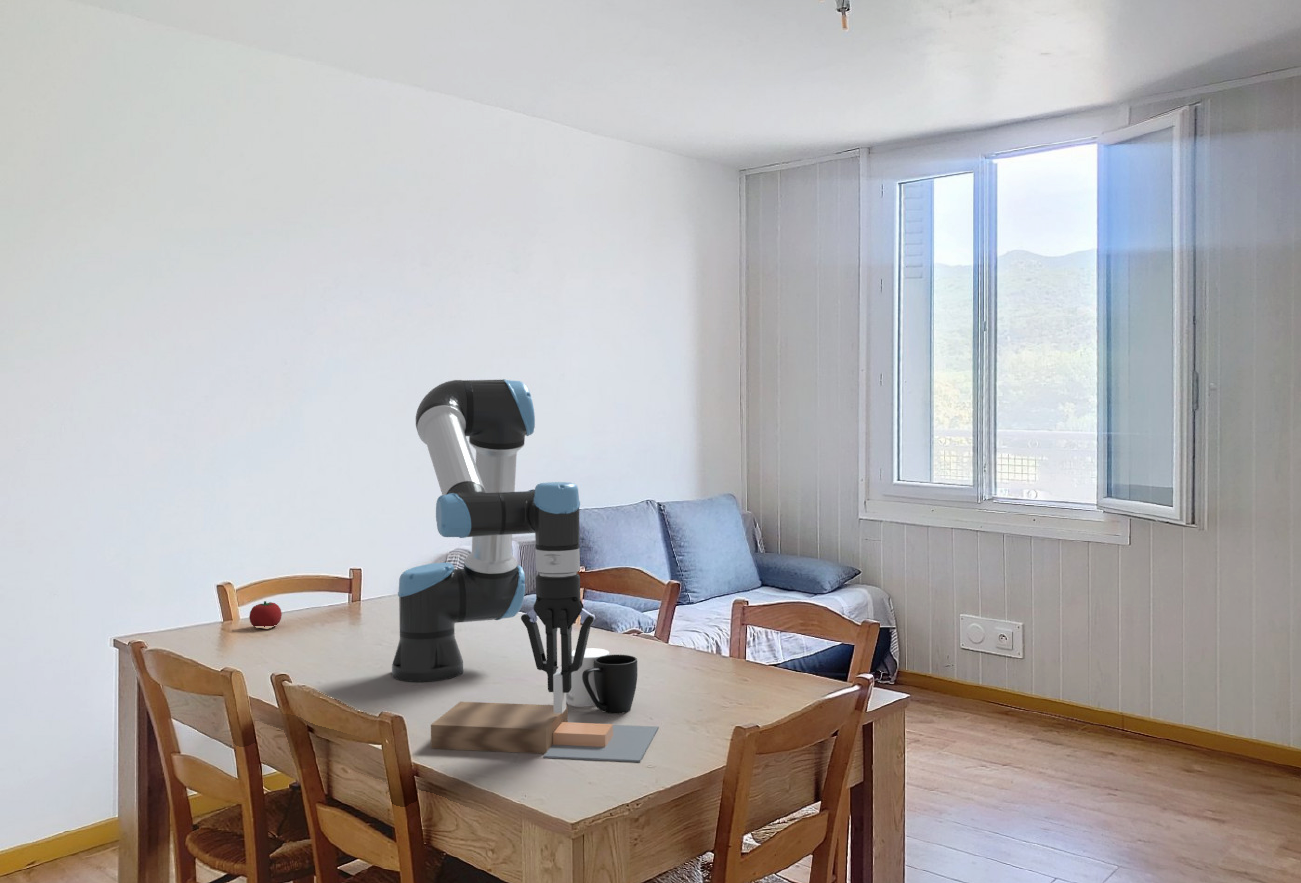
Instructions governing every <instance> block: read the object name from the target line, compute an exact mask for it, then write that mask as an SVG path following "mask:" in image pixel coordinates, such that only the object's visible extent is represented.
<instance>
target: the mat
mask: <svg viewBox="0 0 1301 883" xmlns="http://www.w3.org/2000/svg"><path fill="white" fill-rule="evenodd" d="M659 729H660V728H659V726H655V725H654V726H651V725H632V724H631V725H629V724H613V737H612V738H611V740H610V741H609V742H608V744H607V745H606V747H597V746H575V745H554V744H553V745H552V746H551V747H550V748H549V750H548V751H547V752H546V753H545V754H543V756H542V758H543V759H544V758H545V759H561V760H562V759H563V760H565V759H566V760H584V761H585V760H586V761H587V760H588V761H609V762H628V763H629V762H630V763H631V762H633V763H641V761H642V760H643V757H644V756H645V754H646V752H647V750H648V749H649V746H650V745H651V743H652V741H653V739H654V737H655V736H656V734H657V732H658V730H659Z"/></svg>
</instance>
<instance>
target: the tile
mask: <svg viewBox="0 0 1301 883" xmlns="http://www.w3.org/2000/svg"><path fill="white" fill-rule="evenodd" d="M613 725H614V724H613V723H591V722H569V721H568V722H562V723H561V724H560V725H559V726H558V728H557V729H556V730H555V731H554V732H553V744H554V745H575V746H597V747H606V745H607V744H608V742H609V741H610V740H611V738H612V737H613Z"/></svg>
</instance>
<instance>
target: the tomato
mask: <svg viewBox="0 0 1301 883" xmlns="http://www.w3.org/2000/svg"><path fill="white" fill-rule="evenodd" d="M282 616H283V614H282V609H281V607H280V606H279V605H278V604H276V603H275V602H267V601H266V600H265V601H263V603H258V604H255V605H254V606H253V607H252V608H251V610H250V612H249V617H248V618H249V623H250V624H251V625H253V626H252V627H254V626H264V627H265V626H274V625H277V624H278V623H279V624H280V621H281V620H282ZM279 624H278V625H279ZM278 625H277V626H278Z"/></svg>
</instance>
